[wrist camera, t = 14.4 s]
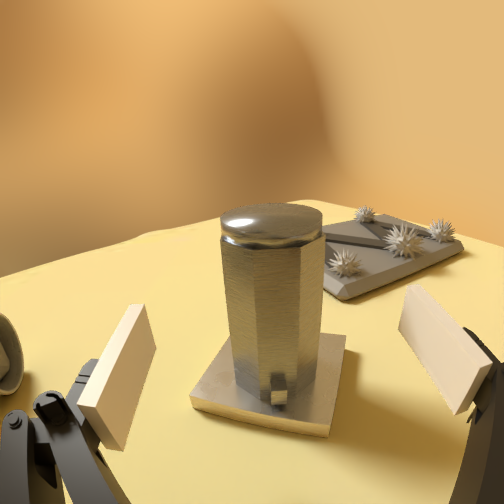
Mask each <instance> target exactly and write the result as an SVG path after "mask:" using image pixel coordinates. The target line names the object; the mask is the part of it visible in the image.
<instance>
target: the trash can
mask: <svg viewBox="0 0 504 504" xmlns="http://www.w3.org/2000/svg"><path fill="white" fill-rule="evenodd" d="M220 221H221V232H222V235H221V240H220V243H221V254H222V264H223V274H224V284H225V294H226V303H227V312H228V321H229V330H230V339H231V347H232V356H233V364H234V372H235V380H236V385H238V386H239V387H241V388H242V389H244V390H245V391H247V392H248V393H250V394H251V395H253V396H254V397H256V398H257V399H259V400H260V401H261V400H271V405H279V404H287V399H289V398H296V397H297V396H298V395H299V394H300V393H301V392H302V391H303V390H304V389H305V388H306V387H308V386H309V385H310V384H311V383H312V382H313V381H314V380H315V378H316V369H317V360H318V350H319V339H320V327H321V314H322V300H323V284H324V264H325V237H326V235H325V234H324V232H323V231H322V213H321V212H320V211H319V210H317V209H315V208H312V207H308V206H304V205H298V204H287V203H267V204H256V205H249V206H243V207H239V208H235V209H232V210H229V211H227V212H225V213H224V214H222V215H221V217H220Z"/></svg>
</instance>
